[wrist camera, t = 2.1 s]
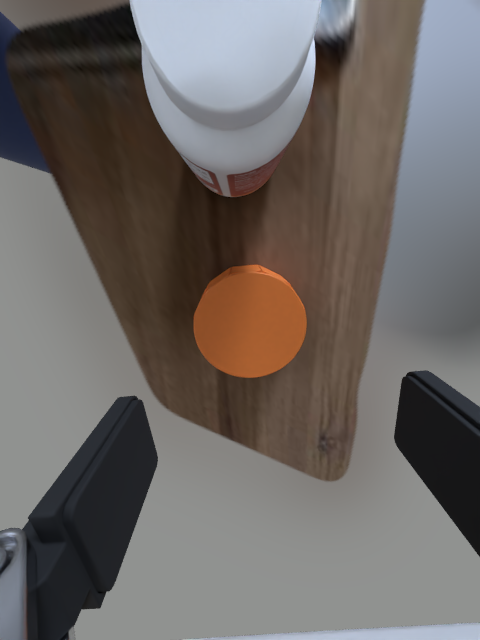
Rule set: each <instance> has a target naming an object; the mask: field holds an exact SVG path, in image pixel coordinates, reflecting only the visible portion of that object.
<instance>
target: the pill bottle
mask: <svg viewBox="0 0 480 640" xmlns="http://www.w3.org/2000/svg"><path fill="white" fill-rule="evenodd" d="M321 1H322V0H130V6H131V10H132V14H133V19H134V23H135V27H136V30H137V33H138V36H139V39H140V41H141V44H142V68H143V76H144V82H145V87H146V91H147V95H148V98H149V101H150V104H151V107H152V109H153V112H154V114H155V116H156V118H157V120H158V122H159V124H160V126H161V128H162V129H163V131H164V133H165V134H166V136H167V137H168V139H169V140H170V142H171V143H172V145H173V146H174V147H175V148H176V150H177V151H178V152H179V153H180V155H181V156H182V158H183V159H184V160H185V162H186V163H187V164H188V166H189V167H190V168H191V170H192V171H193V173H194V174H195V175H196V177H197V178H198V179H199V180H200V181H201V182H202V183H203V184H204V185H205V186H206V187H207V188H208V189H210V190H211V191H213V192H215V193H217V194H219V195H223V196H227V197H240V196H244V195H247V194H250V193H252V192H254V191H256V190H257V189H259V188H260V187H261V186H263V185H264V184H265V183H266V181H267V180H268V179H269V178H270V177H271V175H272V174H273V172H274V171H275V169H276V167H277V165H278V163H279V162H280V160H281V158H282V156H283V154H284V153H285V151H286V149H287V147H288V145H289V144H290V142H291V140H292V138H293V137H294V135H295V133H296V131H297V129H298V127H299V125H300V123H301V121H302V119H303V116H304V114H305V112H306V109H307V106H308V103H309V100H310V96H311V92H312V87H313V81H314V73H315V43H314V36H315V32H316V28H317V25H318V20H319V15H320V8H321Z"/></svg>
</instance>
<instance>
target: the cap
mask: <svg viewBox="0 0 480 640" xmlns="http://www.w3.org/2000/svg"><path fill="white" fill-rule="evenodd" d="M193 320H194V335H195V339H196V342H197V345H198V347H199V349H200V351H201V353H202V354H203V355H204V357H205V358H206V359H207V360H208V361H209V362H210V363H211V364H212V365H213V366H214V367H216V368H217V369H219V370H221V371H223V372H225V373H227V374H230V375H233V376H237V377H244V378H254V377H261V376H265V375H268V374H271V373H274V372H276V371H278V370H280V369H281V368H283V367H284V366H285V365H287V364H288V363H289V362H290V361H291V360H292V359H293V358H294V357H295V356H296V354H297V353H298V351H299V350H300V348H301V346H302V344H303V341H304V338H305V334H306V327H307V321H306V313H305V308H304V305H303V304H302V302H301V300H300V298H299V297H298V295H297V294H296V293H295V291H294V289H293V288H292V286H291V285H290V284H289V283H288V282H287V281H286V280H285V279H284V278H283V277H282V276H281V275H279V274H276V273H274V272H272V271H270V270H268V269H266V268H264V267H262V266H260V265H246V266H234V267H232V268H231V267H230V268H228V269H227V270H226V271H224V272H223V273H221V274H220V275H219V276H217V277H216V278H214V279H213V280H212V281H210V282H209V284H208V285H207V287H206V289H205V291H204V293H203V295H202V298H201V300H200V302H199V304H198V307H197V309H196V312H195V314H194V318H193Z"/></svg>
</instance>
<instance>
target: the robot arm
mask: <svg viewBox="0 0 480 640" xmlns="http://www.w3.org/2000/svg"><path fill="white" fill-rule="evenodd" d="M394 439H395V443H396V445H397V447H398V448H399V450H400V451H401V452H402V454H403V455H404V456H405V458H406V459H407V460H408V462H409V463H410V464H411V466H412V467H413V468H414V470H415V471H416V472H417V474H418V475H419V476H420V478H421V479H422V480H423V482H424V483H425V484H426V486H427V487H428V488H429V490H430V491H431V492H432V494H433V495H434V496H435V498H436V499H437V500H438V502H439V503H440V504H441V506H442V507H443V508H444V510H445V511H446V512H447V514H448V515H449V516H450V518H451V519H452V520H453V522H454V523H455V524H456V526H457V527H458V528H459V530H460V531H461V532H462V534H463V535H464V536H465V538H466V539H467V540H468V542H469V543H470V544H471V546H472V547H473V548H474V550H475V551H476V552H477V554H478V555H479V556H480V407H479V406H477V405H476V404H475V403H473V402H472V401H470V400H469V399H468V398H466V397H465V396H463V395H462V394H460V393H459V392H458V391H456V390H455V389H453V388H452V387H451V386H449V385H448V384H446V383H445V382H444V381H442V380H441V379H440V378H438V377H437V376H435V375H434V374H432V373H431V372H429V371H415V372H409V373H407V375H406V377H403V379H402V383H401V390H400V397H399V405H398V412H397V420H396V427H395V435H394ZM157 461H158V457H157V452H156V448H155V445H154V441H153V437H152V434H151V430H150V427H149V423H148V419H147V416H146V412H145V408H144V405H143V402H142V400H138V398H137V397H136V396H128V397H119V398H118V399H117V400H116V401H115V402H114V404H113V405H112V406H111V408H110V409H109V410H108V412H107V413H106V414H105V416H104V417H103V418H102V420H101V421H100V422H99V424H98V425H97V427H96V428H95V429H94V430H93V431H92V433H91V434H90V435H89V437H88V438H87V439H86V441H85V442H84V443H83V445H82V446H81V448H80V449H79V450H78V452H77V453H76V454H75V456H74V457H73V458H72V460H71V461H70V462H69V463H68V465H67V466H66V467H65V469H64V470H63V471H62V473H61V474H60V476H59V477H58V478H57V480H56V481H55V482H54V483H53V485H52V486H51V488H50V489H49V490H48V491H47V493H46V494H45V496H44V497H43V498H42V500H41V501H40V502H39V504H38V505H37V506H36V507H35V509H34V510H33V511H32V513H31V514H30V515H29V517H28V519H29V521H28V523H27V524H26V525H25V527H24V528H23V529H22V530H21V529H19V528H9V529H5V530H2V531H0V640H75V632H74V625H75V623H76V621H77V618H78V616H79V613H80V611H81V609H96V608H100V607H101V605H102V602H103V599H104V597H105V594H106V591H110V590H111V589H112V587H113V586H114V583H115V581H116V578H117V576H118V573H119V570H120V567H121V564H122V562H123V559H124V556H125V553H126V551H127V548H128V545H129V542H130V539H131V537H132V533H133V531H134V528H135V525H136V523H137V520H138V517H139V514H140V511H141V508H142V506H143V503H144V500H145V498H146V494H147V492H148V489H149V486H150V484H151V481H152V478H153V475H154V472H155V470H156V467H157ZM182 640H480V622H479V623H461V624H460V623H459V624H439V625H420V626H402V627H383V628H366V629H348V630H330V631H313V632H295V633H278V634H262V635H244V636H230V637H214V638H198V639H182Z"/></svg>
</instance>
